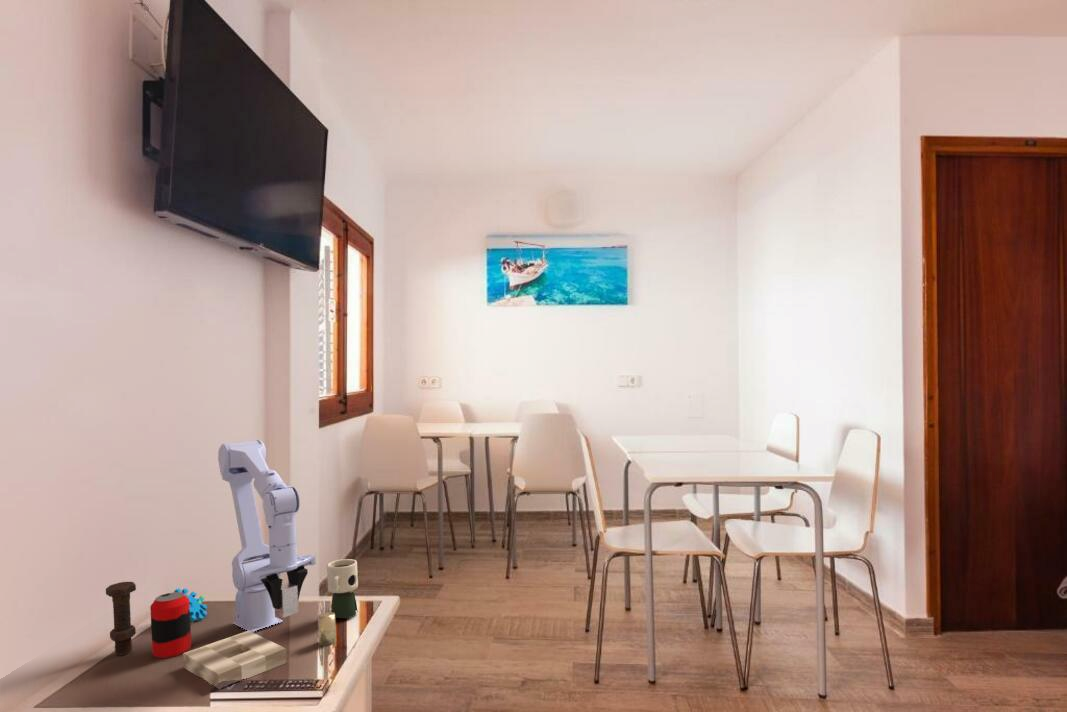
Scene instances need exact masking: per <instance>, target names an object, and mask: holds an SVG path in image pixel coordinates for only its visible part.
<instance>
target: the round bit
mask: <svg viewBox="0 0 1067 712" xmlns="http://www.w3.org/2000/svg"><path fill="white" fill-rule="evenodd" d="M317 621H318V624H317V625H318V643H319V646H323V647H324V646H325V647H326V646H330V645H334V644H335V643H336V642H337V630H336V629H337V628H336V618H335V613H333V612H331V611H329V612H327V611H326V612H323V613H319V614H318V616H317Z"/></svg>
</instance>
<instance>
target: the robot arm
mask: <svg viewBox="0 0 1067 712" xmlns="http://www.w3.org/2000/svg"><path fill="white" fill-rule="evenodd" d="M217 455H218V456H217V458H218V461H217V462H218V467H219V471H220V475H221V479H222V480H223V481H225V482H227V483H229V486H230V491H231V494H232V500H233V505H234V511H235V517H236V522H237V527H238V528H237V529H238V533H239V538H240V543H241V549H240V551H239V552H237V553H236V555H235V556H234V557H233V558H232V561H231V567H232V572H231V573H232V576H231V577H232V582H233V585H234V587H235V588H236V590H237V591H236V594H235V598H234V599H235V600H234V601H235V614H236V615H235V617H236V619H235V620H236V621H233V622H232V625H233V624H235V625H237V626H239V627H241V628H240V629H242V628H243V629H242V630H244V629H245V630H244V631H246V630H247V631H251V632H253V633H256V632H258V631H257V630H259V629H262V628H265V627H267V628H270V627H272V626H271V625H273V626H276V625H279V624H282V623H283V622H284V621H283V619H280V618H279V617H276V615H275V609H280V608H281V586H282V584H283V581H284V579H283V578H280V577H281V576H282V574H284V573H286V575H287V581H288V582H289V583H292V584H295V585H297V590H298V601H299V599H300V594H301V590H302V587H303V583H304V582H305V579H306V577H307V576H308V571H309V570H308V568H305V567H307V566H314V565H316V564H317V561H316V555H314V554H308V555H303V556H298V548H297V547H298V544H297V543H298V542H297V520H296V519H297V517H296V513H298V512H299V509H300V504H301V502H300V494H299V492H298V490H297V487H295V486H293V485H292V486H290V485H287V484H286V483H285V482H284V480H283V479H282V477H281V476H280V475H279V474H278V472H277V471H276V470H274V469H270V468H269V466H268V463H267V462H266V458H267V450H266V446H265V444H264V442H263V440H261V439H256V440H252V441H251V440H250V441H249V440H248V441H244V442H243V441H242V442H234V443H233V442H231V443H222V444H221V445H220V446H219V449H218V453H217ZM252 482H253V483H252ZM254 489H255V491H256V492H257V493H258V495H259V497H260V499H261V500H262V507H263V513H264V516H265V517H264V518H265V524H266V525H267V526H268V544H266V543H264V540H263V535H262V529H261V524H260V519H259V513H258V509H257V503H256V499H255V492H254ZM281 622H282V623H281ZM236 623H237V624H236ZM278 623H279V624H278ZM275 624H276V625H275ZM235 625H234V626H235ZM237 626H236V627H237ZM269 626H270V627H269ZM239 627H238V628H239ZM265 629H266V628H265ZM262 630H263V629H262ZM255 631H256V632H255ZM259 631H260V630H259Z"/></svg>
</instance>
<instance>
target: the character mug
mask: <svg viewBox="0 0 1067 712" xmlns="http://www.w3.org/2000/svg"><path fill="white" fill-rule="evenodd" d="M357 561H358V560H356V559H352V558H351V559H350V558H343V559H337V560H333V561H330V562H329V563H327V565H326V573H327V576H326V577H327V578H326V579H327V589H328V590H327V591H328V592H330V593H333V594H332V598H331V607H330V610H331V611H330V612H333V613H335V619H336V618H337V619H341V620H343V619H349V618H353V617H355V616H356V615H357V613H358V612H359V611H358V606H357V605H358V604H357V600H356V595H355V592H354V590H356V589H357V588H358V587H359V579H358V562H357Z"/></svg>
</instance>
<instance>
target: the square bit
mask: <svg viewBox="0 0 1067 712" xmlns="http://www.w3.org/2000/svg"><path fill="white" fill-rule="evenodd" d="M298 613H299V600H298V590H297V585H295V584H292V583H289V581H288V582H286V583H285V582H284V583H282V586H281V608H280V609H275V616H278V617H281V618H284V619H285V618H287V617H289V616H292V615H294V614H295V615H296V614H298Z"/></svg>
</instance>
